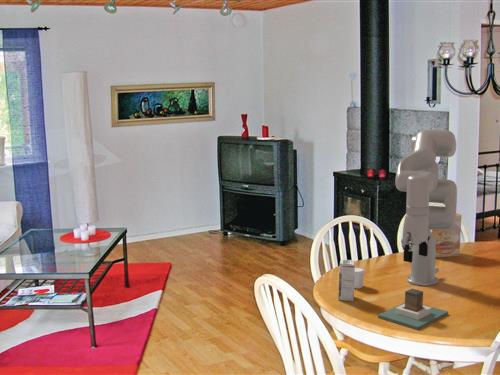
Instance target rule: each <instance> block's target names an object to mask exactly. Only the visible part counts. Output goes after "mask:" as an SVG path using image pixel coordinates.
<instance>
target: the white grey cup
mask: <svg viewBox="0 0 500 375" xmlns="http://www.w3.org/2000/svg"><path fill="white" fill-rule="evenodd" d="M365 271H366V270H365V269H364V268H362V267H356V266H355V277H354V289H355V288H356V289H361V288H363V287H364V280H365Z"/></svg>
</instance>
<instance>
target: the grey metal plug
mask: <svg viewBox="0 0 500 375" xmlns="http://www.w3.org/2000/svg"><path fill="white" fill-rule="evenodd" d="M404 303H405V309H407V310H411V311H414V312H418V311H420V310H422V309H423V305H424V291H422V290H419V289H415V288H410V289H408V290H405V292H404Z"/></svg>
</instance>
